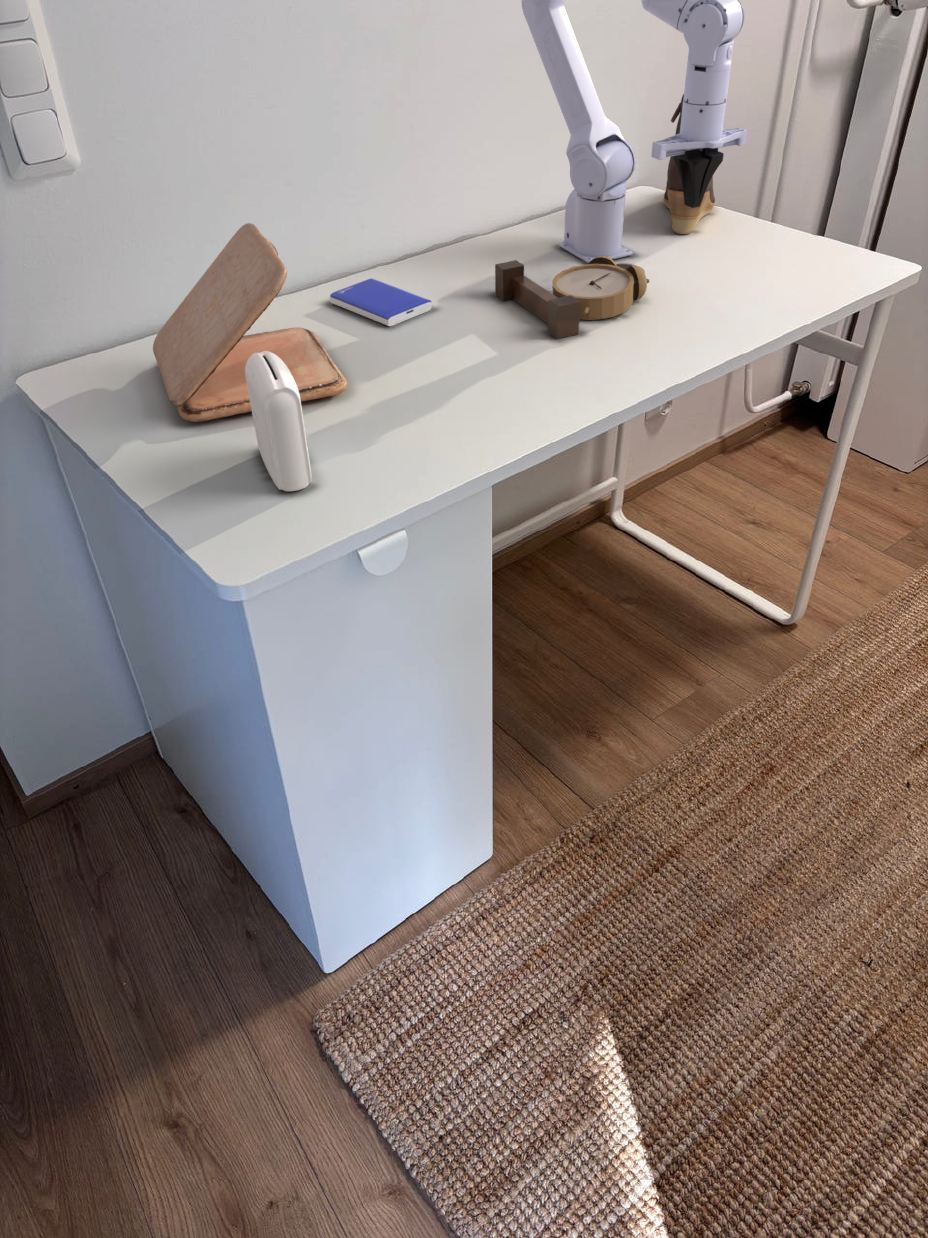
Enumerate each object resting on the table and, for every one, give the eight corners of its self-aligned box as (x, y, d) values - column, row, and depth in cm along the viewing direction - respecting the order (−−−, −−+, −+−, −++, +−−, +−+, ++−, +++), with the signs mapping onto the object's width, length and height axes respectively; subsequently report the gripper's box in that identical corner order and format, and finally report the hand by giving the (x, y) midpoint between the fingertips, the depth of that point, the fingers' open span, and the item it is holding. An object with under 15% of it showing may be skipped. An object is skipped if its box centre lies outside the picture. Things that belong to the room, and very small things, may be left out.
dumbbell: (495, 295, 141) (494, 263, 138) (516, 290, 142) (516, 259, 139) (556, 339, 129) (557, 305, 126) (579, 333, 130) (581, 300, 127)
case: (154, 360, 127) (124, 234, 116) (312, 333, 132) (296, 209, 122) (176, 431, 112) (143, 294, 102) (353, 397, 117) (339, 263, 107)
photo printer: (255, 450, 108) (236, 344, 100) (293, 442, 109) (277, 337, 101) (277, 497, 101) (257, 386, 93) (317, 487, 102) (301, 377, 94)
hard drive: (329, 293, 139) (387, 316, 132) (372, 276, 143) (431, 298, 136) (330, 304, 140) (388, 327, 133) (373, 287, 144) (432, 309, 137)
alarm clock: (533, 285, 135) (604, 238, 141) (537, 317, 139) (606, 270, 145) (595, 307, 129) (667, 257, 135) (597, 340, 133) (667, 290, 138)
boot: (714, 193, 174) (731, 66, 162) (713, 239, 156) (731, 100, 144) (664, 192, 176) (677, 65, 163) (657, 237, 158) (671, 99, 145)
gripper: (678, 113, 126) (666, 221, 135) (767, 99, 131) (750, 204, 140) (646, 102, 131) (637, 207, 140) (733, 89, 136) (719, 191, 145)
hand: (692, 205), depth 140 cm, fingers closed
